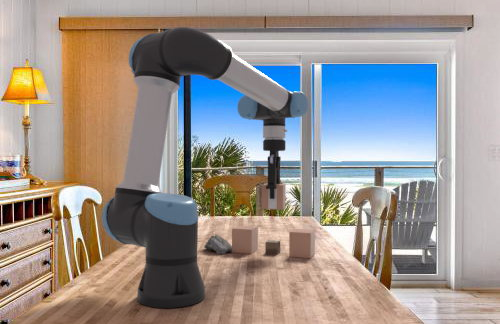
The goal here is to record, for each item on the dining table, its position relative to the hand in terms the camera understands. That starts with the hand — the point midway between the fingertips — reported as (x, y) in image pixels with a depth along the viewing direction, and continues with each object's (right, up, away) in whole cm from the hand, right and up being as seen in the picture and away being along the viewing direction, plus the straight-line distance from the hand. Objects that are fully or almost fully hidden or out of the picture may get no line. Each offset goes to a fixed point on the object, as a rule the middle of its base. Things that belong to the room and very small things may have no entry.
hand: (274, 207), depth 158 cm
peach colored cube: (-10, -15, +3) cm, 18 cm away
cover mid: (0, 0, 0) cm, 0 cm away
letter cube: (0, -15, -1) cm, 15 cm away
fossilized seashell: (-19, -16, +3) cm, 25 cm away
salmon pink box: (+9, -15, -4) cm, 18 cm away
